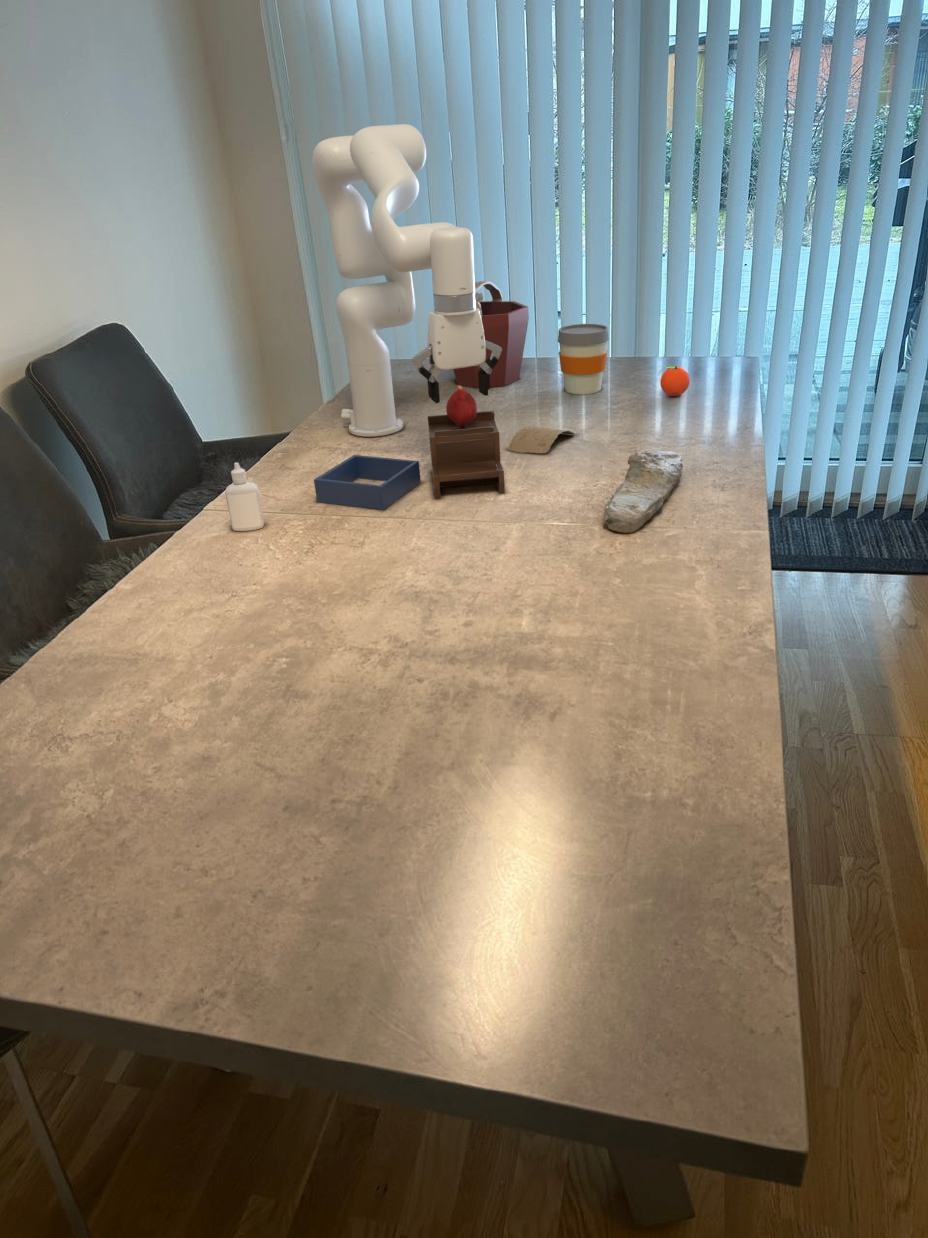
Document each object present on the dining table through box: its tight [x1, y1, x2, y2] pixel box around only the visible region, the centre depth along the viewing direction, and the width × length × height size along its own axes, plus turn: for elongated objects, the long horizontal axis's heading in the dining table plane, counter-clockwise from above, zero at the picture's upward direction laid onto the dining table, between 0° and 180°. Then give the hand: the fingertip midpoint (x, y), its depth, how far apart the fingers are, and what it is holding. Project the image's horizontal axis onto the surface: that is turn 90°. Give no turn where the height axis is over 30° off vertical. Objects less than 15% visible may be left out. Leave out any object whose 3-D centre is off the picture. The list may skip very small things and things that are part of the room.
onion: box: [445, 384, 478, 428], centre depth 168 cm, size 6×6×8 cm
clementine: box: [657, 365, 691, 397], centre depth 214 cm, size 8×7×7 cm
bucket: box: [452, 280, 530, 389], centre depth 235 cm, size 24×22×25 cm
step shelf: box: [427, 410, 506, 500], centre depth 169 cm, size 15×13×12 cm
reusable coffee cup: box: [557, 323, 610, 395], centre depth 222 cm, size 13×13×15 cm
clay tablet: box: [507, 425, 576, 454], centre depth 190 cm, size 14×10×3 cm
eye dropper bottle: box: [224, 462, 265, 532], centre depth 156 cm, size 4×6×12 cm
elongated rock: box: [602, 450, 684, 534], centre depth 159 cm, size 35×5×10 cm
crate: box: [313, 454, 422, 511], centre depth 169 cm, size 15×15×4 cm
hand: (459, 397), depth 167 cm, fingers open, 9 cm apart
